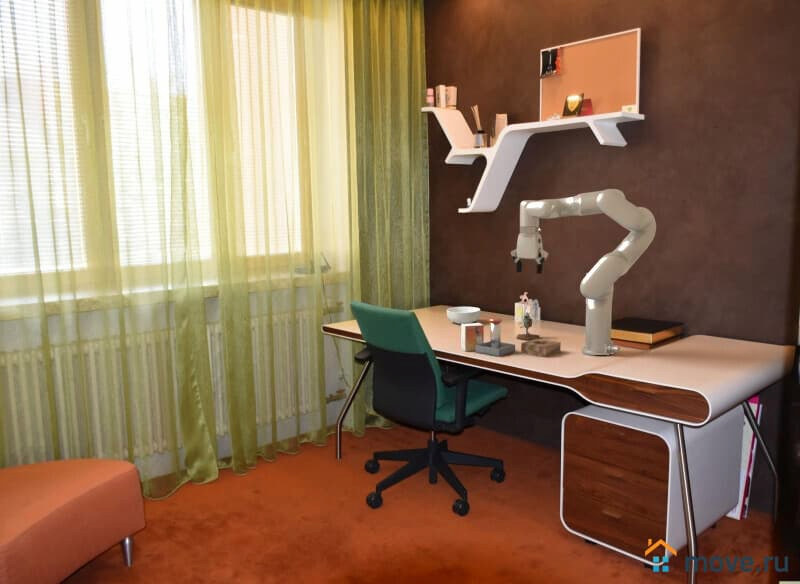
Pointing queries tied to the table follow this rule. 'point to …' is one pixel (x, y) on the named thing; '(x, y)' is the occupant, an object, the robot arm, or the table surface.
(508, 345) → the tray
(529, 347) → the block
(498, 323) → the pin
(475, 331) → the small box
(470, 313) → the cereal bowl
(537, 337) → the bonsai tree
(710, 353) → the table surface
